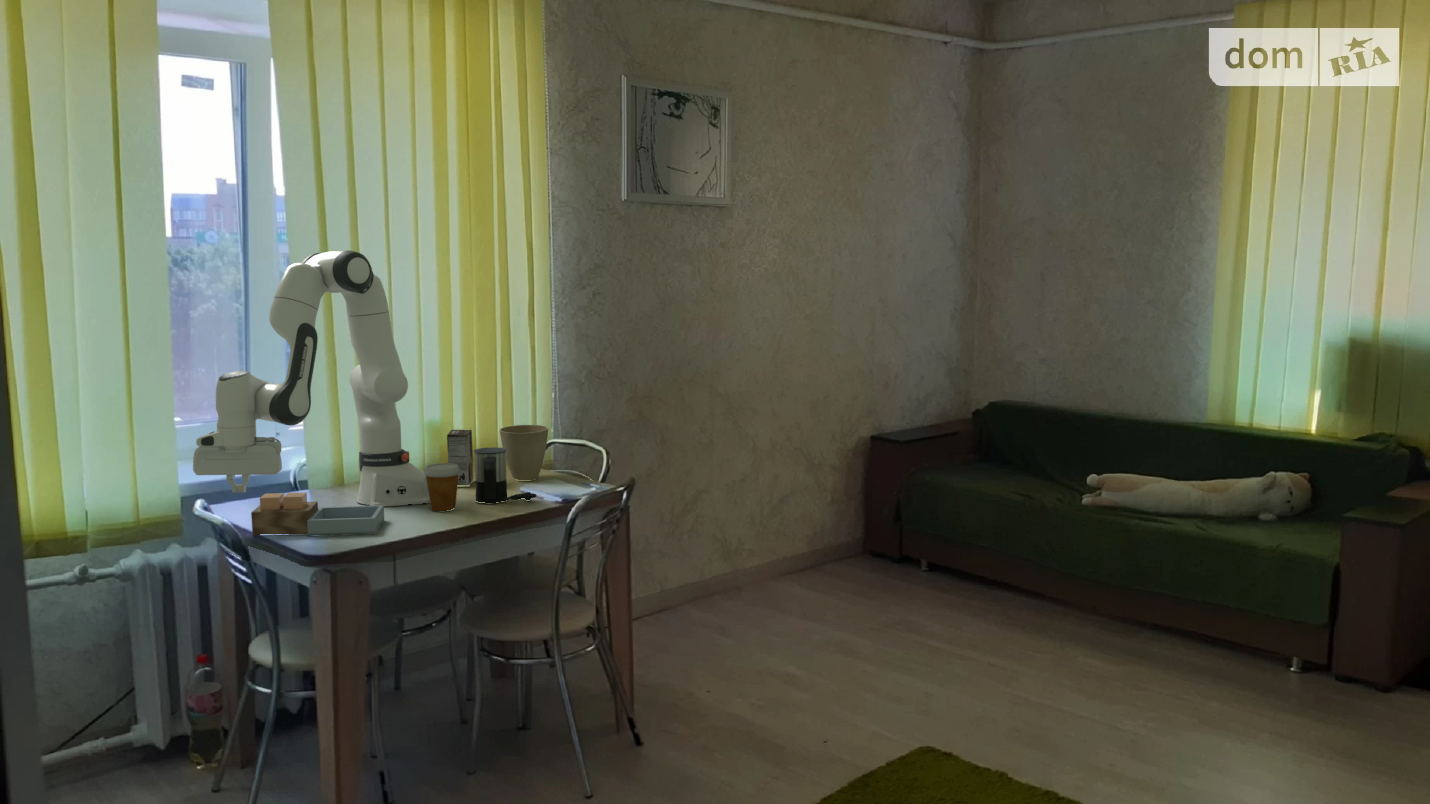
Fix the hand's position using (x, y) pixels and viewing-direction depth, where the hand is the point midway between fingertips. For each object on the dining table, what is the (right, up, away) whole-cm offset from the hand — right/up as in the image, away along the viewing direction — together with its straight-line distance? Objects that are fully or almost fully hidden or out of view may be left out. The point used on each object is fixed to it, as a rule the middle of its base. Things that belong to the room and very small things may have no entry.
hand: (239, 492), depth 264 cm
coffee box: (+42, -3, +57) cm, 71 cm away
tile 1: (+8, -4, +2) cm, 9 cm away
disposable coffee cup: (+44, -7, +25) cm, 51 cm away
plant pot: (+60, -2, +64) cm, 88 cm away
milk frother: (+60, -6, +34) cm, 69 cm away
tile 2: (+13, -4, +3) cm, 14 cm away
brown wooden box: (+11, -10, +3) cm, 15 cm away
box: (+25, -10, +5) cm, 27 cm away
